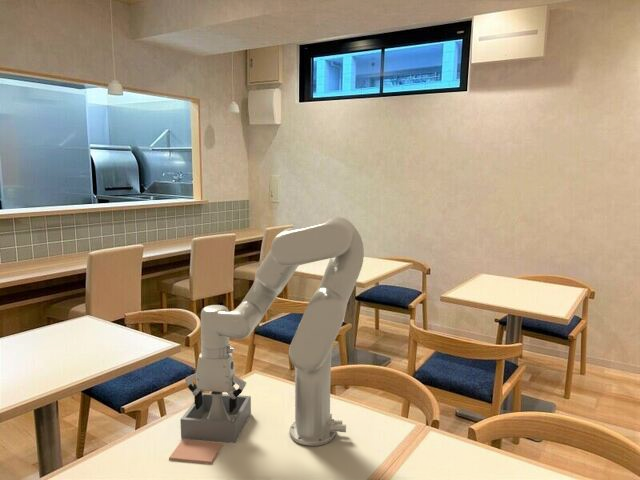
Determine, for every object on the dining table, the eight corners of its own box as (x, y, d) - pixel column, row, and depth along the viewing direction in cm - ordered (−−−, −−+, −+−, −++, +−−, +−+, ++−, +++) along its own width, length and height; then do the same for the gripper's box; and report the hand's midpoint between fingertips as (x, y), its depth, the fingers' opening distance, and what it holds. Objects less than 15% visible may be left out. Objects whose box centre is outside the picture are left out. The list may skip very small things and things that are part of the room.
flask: (224, 434, 127) (223, 399, 125) (200, 431, 128) (198, 397, 127) (234, 420, 134) (234, 387, 132) (211, 417, 135) (210, 385, 134)
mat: (222, 444, 122) (222, 442, 122) (211, 463, 114) (211, 461, 114) (182, 441, 123) (182, 439, 123) (169, 459, 116) (169, 457, 115)
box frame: (251, 413, 138) (250, 396, 137) (235, 442, 123) (234, 423, 122) (202, 409, 139) (201, 392, 139) (181, 438, 125) (180, 419, 124)
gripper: (249, 347, 130) (249, 404, 133) (190, 343, 133) (191, 399, 135) (241, 358, 123) (241, 418, 126) (179, 353, 125) (180, 412, 128)
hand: (215, 408), depth 130 cm, fingers open, 9 cm apart
